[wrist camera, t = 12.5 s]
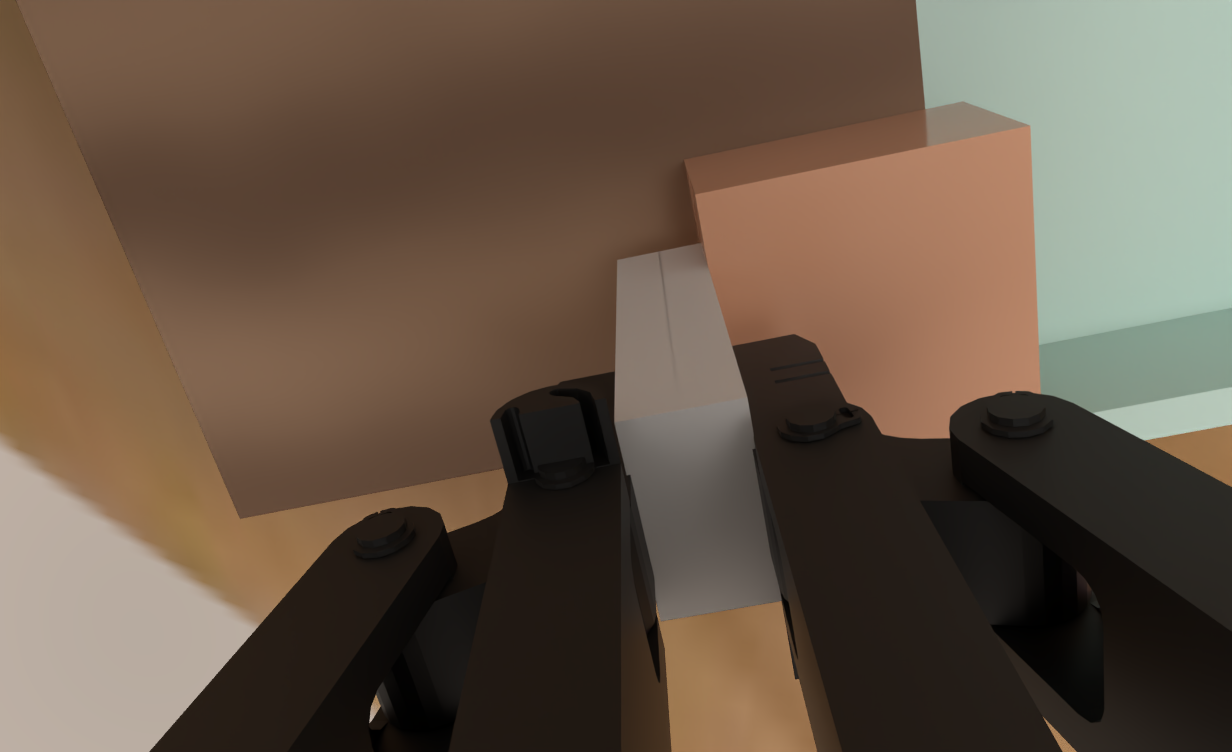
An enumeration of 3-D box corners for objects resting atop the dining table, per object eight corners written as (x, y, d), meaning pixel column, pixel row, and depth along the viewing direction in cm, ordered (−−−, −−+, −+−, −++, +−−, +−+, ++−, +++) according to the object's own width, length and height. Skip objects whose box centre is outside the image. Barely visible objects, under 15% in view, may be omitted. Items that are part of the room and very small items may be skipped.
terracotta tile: (683, 159, 17) (695, 194, 14) (962, 101, 17) (1030, 125, 14) (727, 405, 19) (745, 478, 16) (979, 359, 18) (1041, 425, 16)
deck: (26, -200, 18) (-86, -234, 15) (829, -418, 16) (871, -499, 13) (286, 453, 23) (239, 519, 20) (907, 330, 21) (949, 382, 19)
